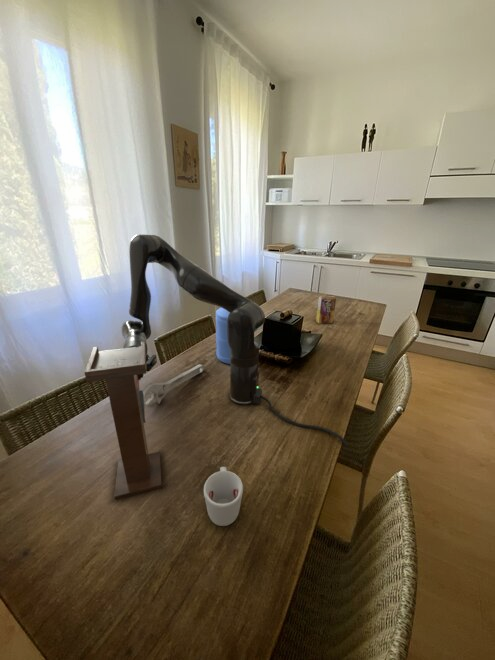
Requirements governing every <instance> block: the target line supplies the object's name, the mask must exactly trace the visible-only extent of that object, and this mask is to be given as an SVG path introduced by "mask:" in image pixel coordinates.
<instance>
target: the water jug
mask: <svg viewBox="0 0 495 660" xmlns="http://www.w3.org/2000/svg"><path fill="white" fill-rule="evenodd" d="M229 313H230V312H228V311H227V310H225V309H223V308H221V307H219V308H217V309H216V311H215V341H216V352H215V353H216V355H215V356H216V358H217V359H218V360H219V361H220V362H222V363H223V364H227V365H230V347H229V345H228V335H227V319H228V315H229Z"/></svg>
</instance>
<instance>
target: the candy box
mask: <svg viewBox="0 0 495 660" xmlns="http://www.w3.org/2000/svg"><path fill="white" fill-rule="evenodd" d="M336 302H337V297H336V296H334V295H325V296H324V295H322V296H321V295H320V296H318V302H317V310H316V318H315V322H316V323H317V324H333V323H334V316H335V310H336V309H335V307H336Z"/></svg>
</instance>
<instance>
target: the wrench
mask: <svg viewBox="0 0 495 660" xmlns="http://www.w3.org/2000/svg"><path fill="white" fill-rule="evenodd" d="M204 370H205V366H204V365H203V364H200V363H199V364H197V365H195V366H192V367H191V368H189V369H187V370H186V371H184V372H182V373H180V374H179V375H176V376H175V377H173V378H171V379H169V380H167V381H165V382H157V383H156V382H155V383H154V382H150V383H148V384H147V385H145V387H143V389H142V391H143V395H144V399H146V398H147V397H148V395H150V394H151V397H149V398H148V399H147V400H146V401H145V402H144V405H145V406H147V407H148V406H152V405H155V404H158V405H160V403H161V402H162V399H163V398H165V396H166V394H167V393H169V391H171V390H173V389H174V388H176V387H178V386H180V385H182V384H183V383H185V382H187V381H189V380H190V379H192V378H194V377H196V376H197V375H199V374H201V373H203V372H204Z"/></svg>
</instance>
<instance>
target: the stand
mask: <svg viewBox="0 0 495 660" xmlns="http://www.w3.org/2000/svg"><path fill="white" fill-rule="evenodd" d="M83 372H84V376H85V377H84V378H85V380H86V382H87V383H88V382H95V381H103V380H105V384H106V389H107V394H108V399H109V403H110V407H111V413H112V416H113V422H114V427H115V432H116V438H117V442H118V448H119V451H120V456H121V457H120V458H121V459H120V460H118V461H117V467H116V478H115V486H114V500H119V499H123V498H127V497H131V496H135V495H139V494H142V493H146V492H150V491H154V490H158V489H162V487H163V483H162V467H161V465H162V464H161V452H160V451H156V452H152V453H149V447H148V443H147V435H146V430H145V423H144V422H143V415H142V409H141V402H140V396H139V391H140V388H139V389H138V383H137V376H136V375H138V374H143V375H144V374H145V375H146V374H147V371H146V345H145V342H141V346H139V347H131V348H123V347H122V348H115V349H114V348H113V349H105V350H99V346H93V347H92V350H91V353H90V356H89V358H88V361H87V364H86V366H85V369H84V371H83Z"/></svg>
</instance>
